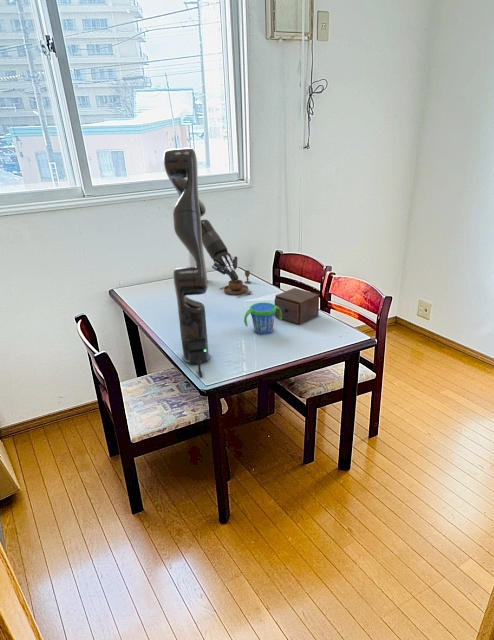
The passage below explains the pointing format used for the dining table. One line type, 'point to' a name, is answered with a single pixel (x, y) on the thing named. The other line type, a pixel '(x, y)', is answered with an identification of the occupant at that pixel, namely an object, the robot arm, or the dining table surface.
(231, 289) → the place setting
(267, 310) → the snack cup
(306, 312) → the cabinet
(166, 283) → the dining table surface
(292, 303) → the drawer
